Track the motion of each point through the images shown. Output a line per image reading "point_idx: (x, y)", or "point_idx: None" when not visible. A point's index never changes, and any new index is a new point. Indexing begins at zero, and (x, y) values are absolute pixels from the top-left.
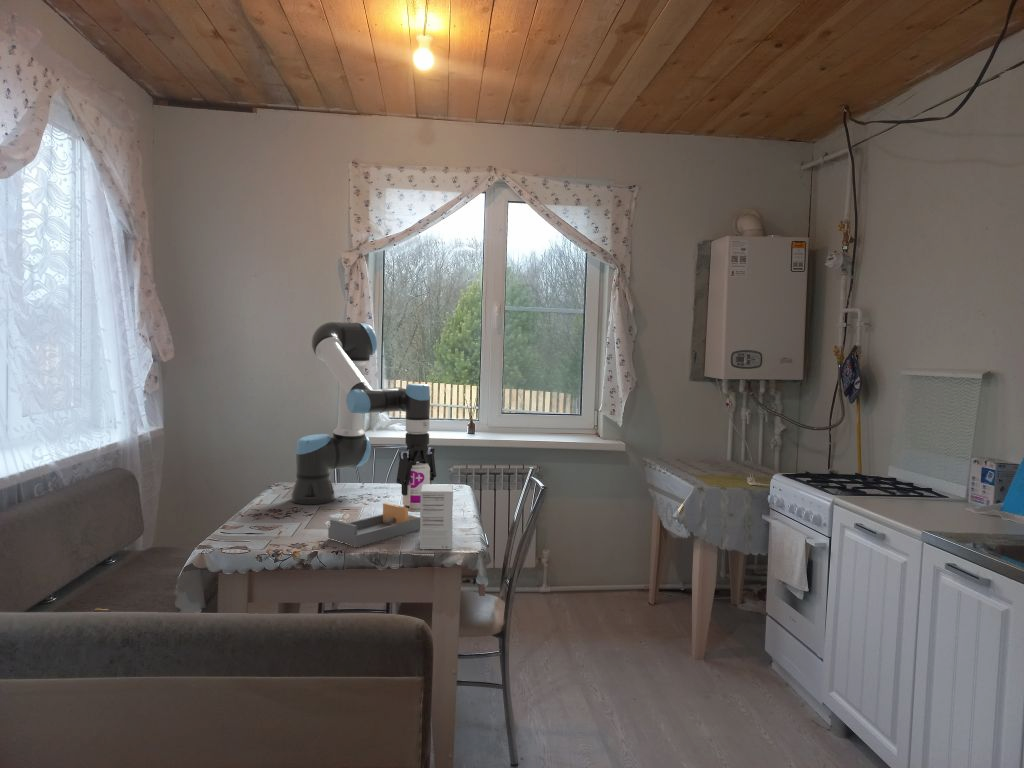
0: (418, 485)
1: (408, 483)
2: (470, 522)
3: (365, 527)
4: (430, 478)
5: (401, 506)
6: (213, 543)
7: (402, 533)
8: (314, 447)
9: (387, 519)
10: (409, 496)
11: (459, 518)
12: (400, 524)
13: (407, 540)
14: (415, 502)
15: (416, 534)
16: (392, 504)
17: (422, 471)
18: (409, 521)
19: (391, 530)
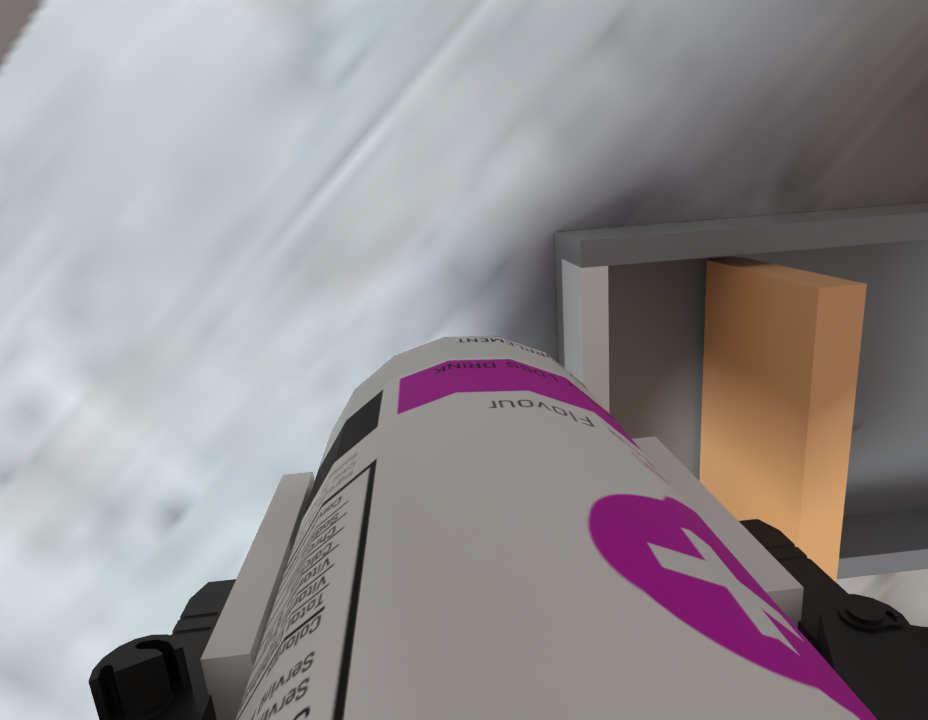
0: (666, 491)
1: (827, 620)
2: (21, 66)
3: (896, 507)
4: (169, 707)
5: (809, 403)
6: None
7: (791, 213)
8: None
9: (861, 405)
10: (688, 490)
11: (26, 267)
12: (877, 214)
13: (888, 37)
14: (600, 408)
15: (705, 129)
16: (801, 540)
17: (737, 689)
18: (758, 225)
19: None
